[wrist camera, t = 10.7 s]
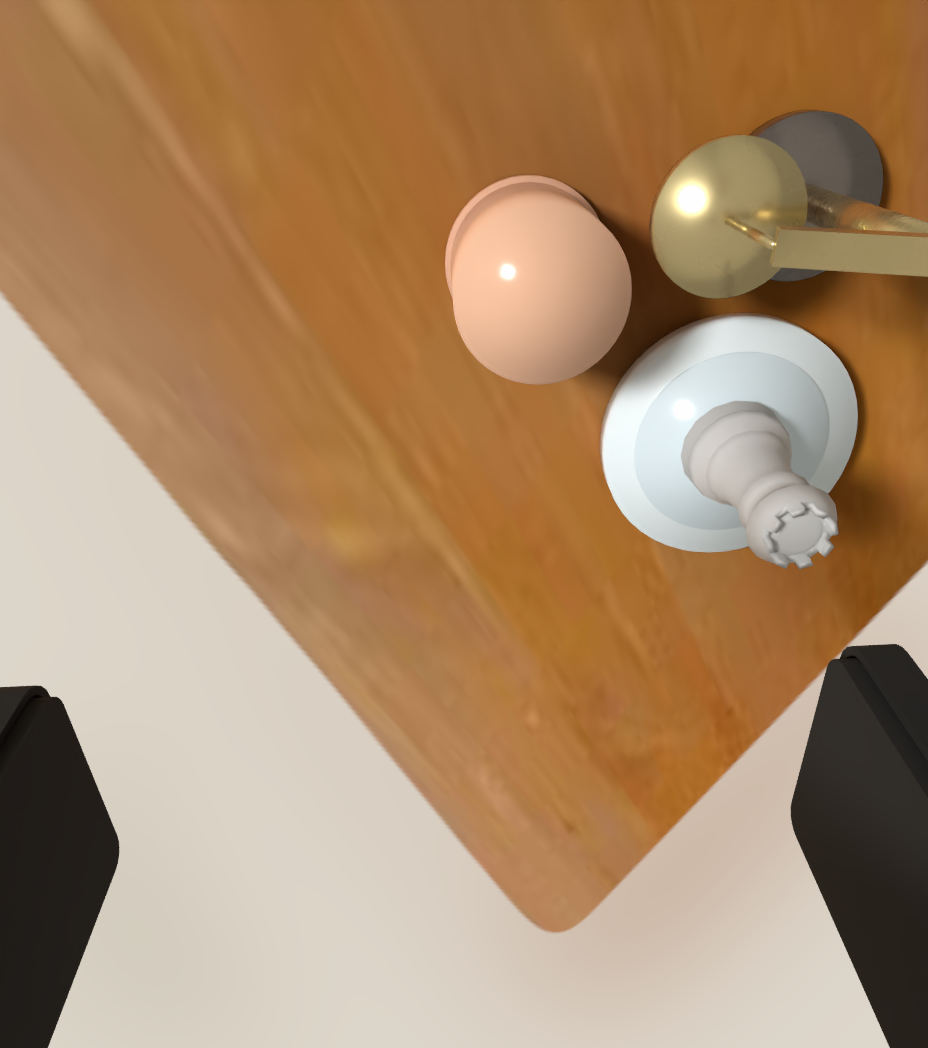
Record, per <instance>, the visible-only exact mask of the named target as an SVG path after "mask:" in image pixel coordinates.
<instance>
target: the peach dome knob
mask: <svg viewBox="0 0 928 1048" xmlns="http://www.w3.org/2000/svg"><path fill="white" fill-rule="evenodd" d="M445 268H446V277H447V283H448V287H449V290H450V293H451V295H452V298H453V307H454V314H455V319H456V323H457V326H458V329H459V332H460V334H461V337H462V339H463V341H464V343H465V344H466V346H467V347H468V349H469V350H470V352H471V353H472V354H473V355H474V356H475V357H476V359H477V360H478V361H479V362H481V363H482V364H483V365H484V366H485V367H486V368H488V369H489V370H491V371H492V372H494V373H496V374H498V375H500V376H502V377H504V378H506V379H509V380H512V381H515V382H520V383H525V384H550V383H555V382H560V381H563V380H566V379H570V378H572V377H574V376H576V375H578V374H580V373H582V372H584V371H585V370H587V369H589V368H590V367H592V366H593V365H594V364H595V363H597V362H598V361H599V360H600V359H601V358H602V357H603V356H604V355H605V354H606V353H607V352H608V351H609V350H610V348H611V347H612V346H613V345H614V343H615V342H616V340H617V339H618V337H619V335H620V334H621V331H622V329H623V327H624V325H625V323H626V320H627V316H628V313H629V309H630V304H631V294H632V284H631V274H630V270H629V265H628V262H627V259H626V256H625V254H624V252H623V250H622V248H621V246H620V244H619V243H618V241H617V240H616V238H615V237H614V236H613V234H612V233H611V232H610V231H609V230H608V229H607V228H606V227H605V226H604V225H603V224H602V223H601V222H600V220H599V218H598V216H597V214H596V213H595V211H594V210H593V208H592V207H591V206H590V204H589V203H588V202H587V201H586V200H585V199H584V198H583V197H582V196H581V195H580V194H579V193H578V192H576V191H575V190H574V189H573V188H571V187H570V186H568V185H566V184H565V183H563V182H561V181H558V180H556V179H553V178H550V177H546V176H542V175H533V174H525V175H516V176H511V177H507V178H504V179H501V180H498V181H496V182H494V183H492V184H490V185H488V186H486V187H485V188H483V189H482V190H481V191H479V192H478V193H477V194H476V195H474V196H473V197H472V198H471V199H470V200H469V201H468V202H467V204H466V205H465V206H464V207H463V208H462V210H461V211H460V213H459V214H458V216H457V218H456V220H455V222H454V224H453V226H452V228H451V231H450V234H449V237H448V241H447V246H446V254H445Z"/></svg>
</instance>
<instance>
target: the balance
mask: <svg viewBox="0 0 928 1048" xmlns="http://www.w3.org/2000/svg"><path fill="white" fill-rule="evenodd" d="M882 189H883V168H882V162H881V158H880V155H879V152H878V149H877V147H876V145H875V143H874V141H873V139H872V138H871V137H870V135H869V134H868V133H867V131H866V130H865V129H863V128H862V127H861V126H860V125H859V124H858V123H856V122H855V121H853V120H852V119H850V118H848V117H845V116H843V115H840V114H836V113H832V112H825V111H816V110H800V111H794V112H789V113H786V114H783V115H780V116H778V117H776V118H774V119H772V120H769V121H767V122H766V123H764V124H763V125H761V126H760V127H758V128H757V129H756V130H755V131H753V132H752V133H751V134H750V135H741V134H736V135H726V136H721V137H717V138H714V139H711V140H708V141H706V142H704V143H702V144H700V145H698V146H697V147H695V148H694V149H692V150H690V151H689V152H688V153H687V154H685V155H684V156H683V157H682V158H681V159H680V160H679V161H678V162H677V163H676V164H675V165H674V166H673V167H672V168H671V170H670V171H669V172H668V174H667V175H666V176H665V178H664V180H663V181H662V183H661V185H660V187H659V189H658V191H657V193H656V196H655V199H654V202H653V205H652V209H651V215H650V225H649V231H650V241H651V246H652V250H653V253H654V255H655V258H656V260H657V262H658V264H659V266H660V267H661V268H662V270H663V271H664V273H665V274H666V275H667V276H668V277H669V278H670V279H671V280H672V281H673V282H674V283H676V284H677V285H678V286H680V287H681V288H682V289H684V290H686V291H688V292H689V293H692V294H695V295H697V296H701V297H706V298H728V297H734V296H738V295H741V294H744V293H747V292H749V291H751V290H753V289H755V288H757V287H759V286H760V285H762V284H764V283H765V282H766V281H768V280H769V279H770V280H775V281H797V280H802V279H806V278H810V277H813V276H816V275H818V274H820V273H822V272H825V271H826V270H830V271H846V272H862V273H877V274H893V275H909V276H925V277H928V222H924V221H921V220H918V219H915V218H912V217H909V216H906V215H903V214H900V213H897V212H894V211H891V210H888V209H885V208H882V207H879V204H880V200H881V195H882Z"/></svg>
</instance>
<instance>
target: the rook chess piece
mask: <svg viewBox="0 0 928 1048" xmlns="http://www.w3.org/2000/svg"><path fill="white" fill-rule="evenodd" d="M791 458H792V450H791V443H790V437H789V433H788V432H787V431H786V429H785V428H784V427H783V425H782V423H781V422H780V421H779V419H778V418H777V417H776V415H775V414H774V412H773V411H772V410H771V409H769V408H767V407H765V406H763V405H761V404H759V403H757V402H750V401H732V402H729V403H726V404H723V405H720V406H716V407H714V408H712V409H711V410H710V411H708V412H707V413H705V414H704V415H703V416H701V417H700V418H699V419H697V420H696V421H695V423H694V424H693V426H692V427H691V429H690V430H689V432H688V433H687V435H686V436H685V438H684V443H683V447H682V452H681V460H682V465H683V469H684V473H685V475H686V476H687V477H688V478H689V480H690V481H691V482H692V483H693V484H694V486H695V487H696V488H697V489H698V490H699V491H700V493H701V494H702V495H704V496H705V497H707V498H710V499H712V500H714V501H716V502H718V503H721V504H727V505H730V506H734V507H735V508H736V509H737V510H738V513H739V518H740V522H741V524H742V525H743V526H744V527H745V529H746V531H745V532H746V537H747V542H748V546H749V547H750V548H751V550H752V551H753V552H754V553H755V554H756V556H757V557H759V558H762V559H764V560H766V561H768V562H771V563H775V564H776V565H779V566H781V567H783V568H785V569H786V568H787V566H788V564H789V563H794V562H795V564H796V565H797V567H798V568H799V569H802V568H806V567H809V566H813V563H812V561H811V559H810V558H809V557H811V556H813V555H814V554H816V553H817V552H820V553H821V554H822V555H823V556H824V557H826V556H827V555H828V554H829V553H830V551H831V550H832V549H833V548H834V545H833V544H832V543H831V542H830V540H829V539H830V538H831V536H832V535H838V534H839V533H838V525H837V511H836V504H835V503H834V501H833V500H832V499H831V497H830V496H829V495H828V493H827V492H825V491H823V490H820V489H818V488H816V487H814V486H810V484H809V483H808V482H807V480H806V479H805V478H804V477H802V476H799V475H797V474H795V473H793V471H792V469H791V467H790V466H791Z"/></svg>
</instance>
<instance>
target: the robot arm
mask: <svg viewBox="0 0 928 1048" xmlns="http://www.w3.org/2000/svg"><path fill="white" fill-rule="evenodd" d="M791 820H792V825H793V829H794V832H795V835H796V837H797V840H798V842H799V844H800V846H801V849H802V851H803V853H804V855H805V858H806V860H807V862H808V864H809V867H810V869H811V871H812V873H813V876H814V878H815V880H816V883H817V884H818V887H819V889H820V891H821V894H822V896H823V898H824V900H825V903H826V905H827V907H828V910H829V912H830V914H831V916H832V919H833V921H834V923H835V925H836V928H837V930H838V932H839V934H840V937H841V939H842V941H843V943H844V946H845V948H846V950H847V952H848V955H849V957H850V959H851V961H852V964H853V965H854V968H855V970H856V972H857V975H858V977H859V979H860V981H861V983H862V986H863V988H864V991H865V993H866V995H867V997H868V1000H869V1002H870V1004H871V1006H872V1009H873V1011H874V1013H875V1015H876V1018H877V1020H878V1022H879V1024H880V1027H881V1029H882V1031H883V1033H884V1036H885V1038H886V1040H887V1042H888V1044H889V1047H890V1048H928V679H927V678H926V676H925V675H924V674H923V672H922V671H921V670H920V668H919V667H918V666H917V664H916V663H915V662H914V661H913V659H912V658H911V657H910V655H909V654H908V652H907V651H905V650H904V648H903V647H901V646H899V645H897V644H888V645H868V646H850V647H847V648H846V649H845V650H844V651H843V652H842V654H841V657H840V659H833V660H831V661H830V662H829V664H828V666H827V669H826V673H825V677H824V681H823V685H822V688H821V692H820V696H819V700H818V704H817V708H816V712H815V715H814V719H813V723H812V727H811V730H810V734H809V738H808V742H807V746H806V750H805V753H804V757H803V761H802V765H801V769H800V772H799V776H798V780H797V784H796V788H795V791H794V795H793V799H792V804H791ZM118 858H119V841H118V837H117V834H116V832H115V829H114V827H113V824H112V822H111V819H110V817H109V814H108V812H107V810H106V807H105V805H104V802H103V800H102V797H101V795H100V793H99V790H98V788H97V785H96V783H95V780H94V778H93V775H92V773H91V770H90V768H89V765H88V763H87V761H86V758H85V756H84V753H83V751H82V749H81V746H80V743H79V741H78V739H77V736H76V734H75V731H74V729H73V726H72V724H71V721H70V719H69V717H68V714H67V712H66V709H65V707H64V704H63V703H62V701H61V700H60V699H59V698H58V697H50V695H49V694H48V692H47V690H46V689H45V688H43V687H42V686H19V687H0V1048H48V1046H49V1043H50V1040H51V1038H52V1035H53V1033H54V1030H55V1027H56V1025H57V1022H58V1020H59V1017H60V1014H61V1011H62V1009H63V1006H64V1004H65V1001H66V999H67V996H68V993H69V990H70V988H71V985H72V983H73V980H74V977H75V975H76V972H77V970H78V967H79V965H80V962H81V959H82V957H83V954H84V951H85V949H86V946H87V944H88V941H89V938H90V936H91V933H92V931H93V928H94V925H95V923H96V920H97V917H98V914H99V912H100V909H101V907H102V904H103V902H104V899H105V896H106V894H107V891H108V888H109V886H110V883H111V881H112V878H113V875H114V873H115V870H116V867H117V864H118Z"/></svg>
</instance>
